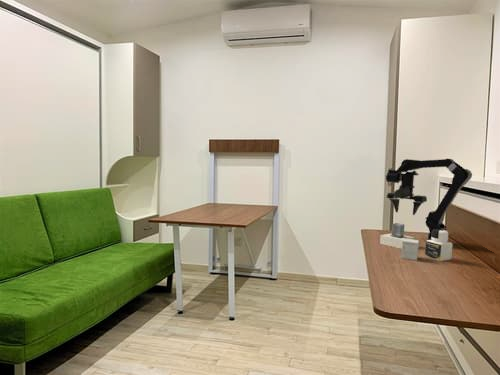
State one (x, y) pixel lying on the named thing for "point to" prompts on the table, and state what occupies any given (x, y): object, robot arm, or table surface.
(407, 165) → the robot arm
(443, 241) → the medicine bottle
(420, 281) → the table surface
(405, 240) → the product box
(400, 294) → the table surface
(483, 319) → the table surface
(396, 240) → the socket block
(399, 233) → the peg
